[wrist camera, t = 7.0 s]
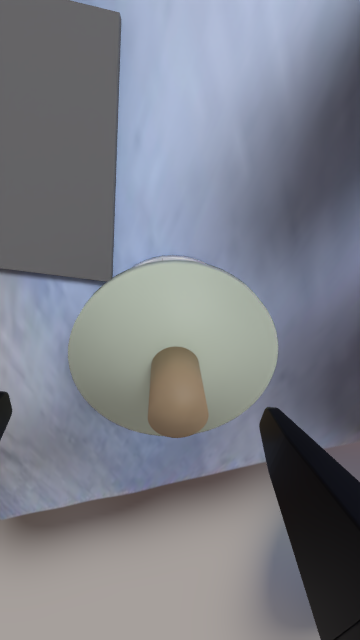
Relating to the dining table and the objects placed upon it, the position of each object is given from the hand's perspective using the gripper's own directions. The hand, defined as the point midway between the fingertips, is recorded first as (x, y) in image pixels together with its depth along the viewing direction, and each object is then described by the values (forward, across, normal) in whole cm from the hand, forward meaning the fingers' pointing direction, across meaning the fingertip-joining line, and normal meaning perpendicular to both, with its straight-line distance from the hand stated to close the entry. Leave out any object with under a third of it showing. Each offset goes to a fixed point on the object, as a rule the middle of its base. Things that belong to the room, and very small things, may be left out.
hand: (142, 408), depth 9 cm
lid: (+7, -2, +3) cm, 8 cm away
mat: (+12, +10, -7) cm, 18 cm away
